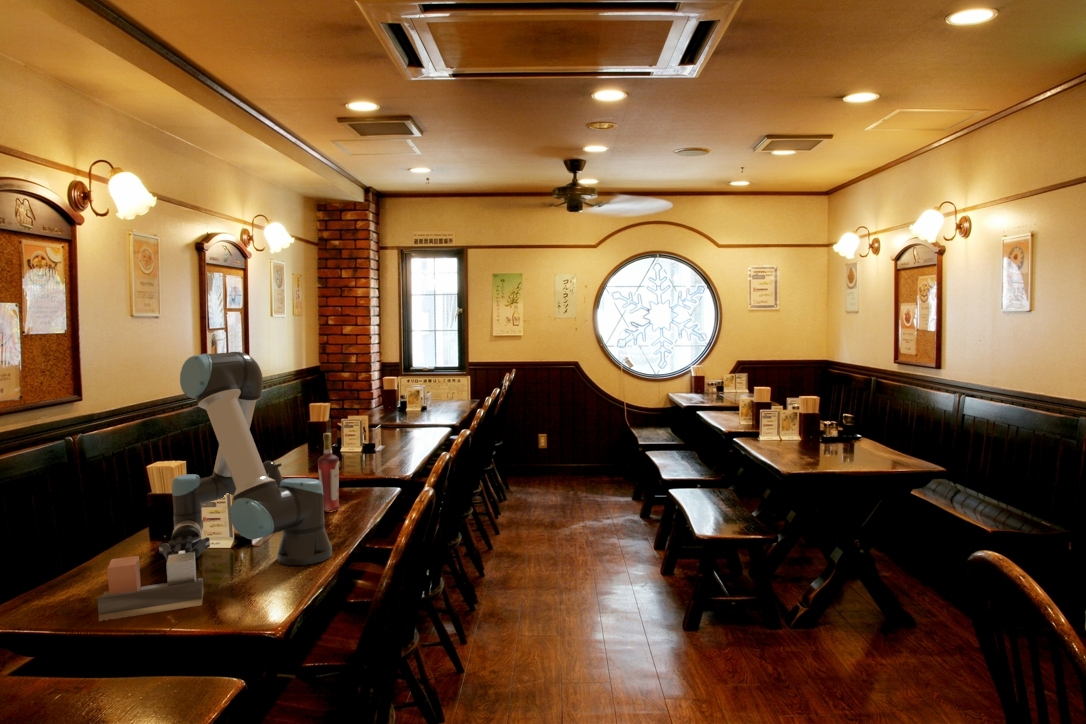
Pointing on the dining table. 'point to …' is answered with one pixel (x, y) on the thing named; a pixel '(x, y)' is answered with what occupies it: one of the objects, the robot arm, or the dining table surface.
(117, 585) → the terracotta plunger
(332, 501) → the liquor
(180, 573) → the gray block
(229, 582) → the dining table surface
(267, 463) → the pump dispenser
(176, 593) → the base
